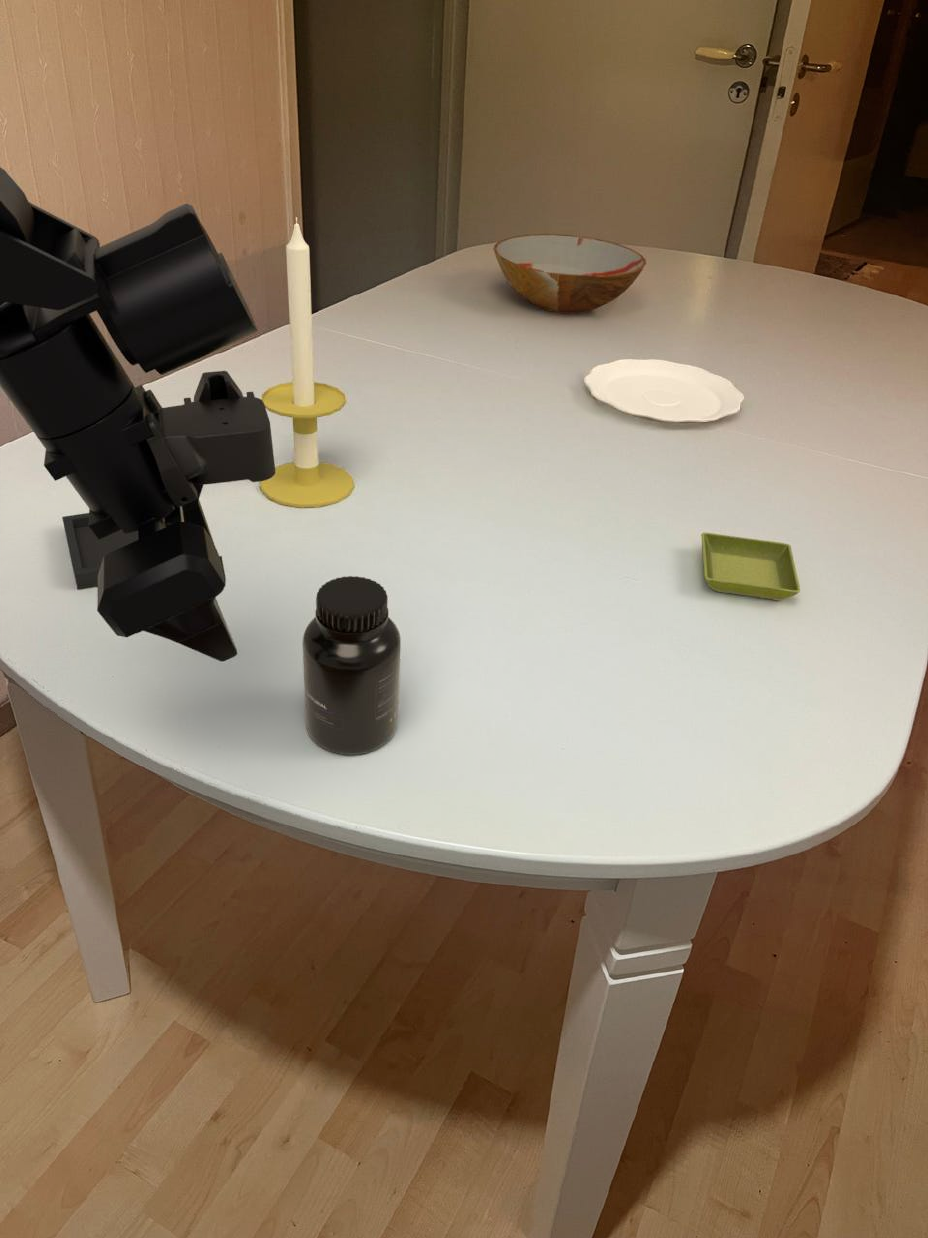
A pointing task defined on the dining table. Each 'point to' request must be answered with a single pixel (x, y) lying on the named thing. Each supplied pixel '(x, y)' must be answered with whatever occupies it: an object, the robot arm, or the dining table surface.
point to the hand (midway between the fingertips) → (222, 613)
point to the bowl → (567, 270)
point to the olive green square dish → (749, 567)
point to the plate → (663, 391)
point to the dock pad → (90, 548)
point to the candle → (304, 402)
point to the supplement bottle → (351, 667)
